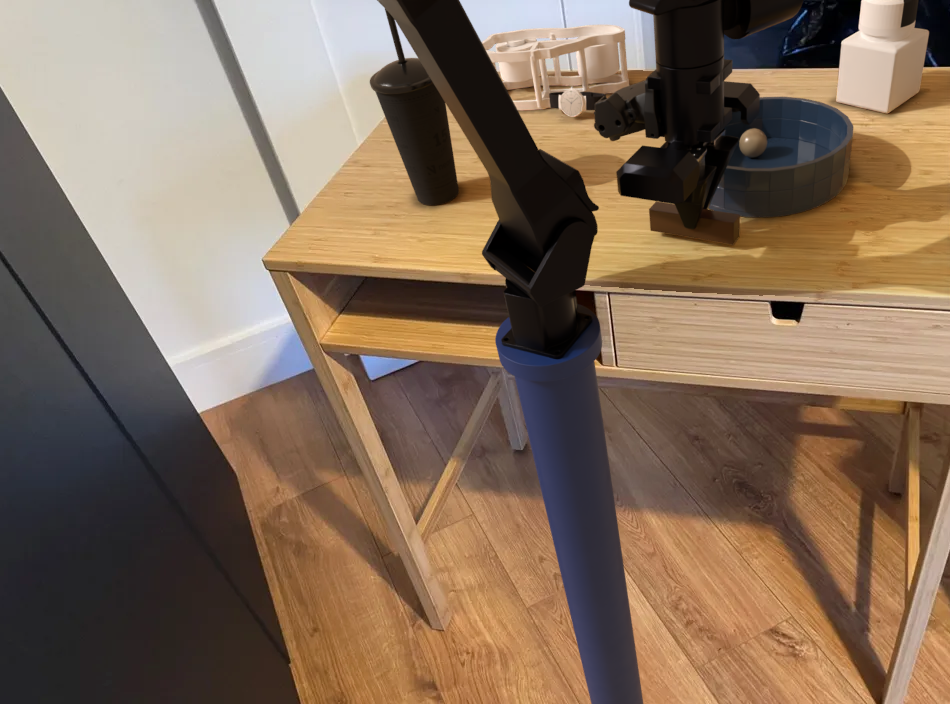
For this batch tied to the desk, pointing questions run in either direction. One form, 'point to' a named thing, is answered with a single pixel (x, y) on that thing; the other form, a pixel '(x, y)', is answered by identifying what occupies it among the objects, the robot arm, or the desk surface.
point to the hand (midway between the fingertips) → (694, 223)
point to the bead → (753, 143)
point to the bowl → (787, 159)
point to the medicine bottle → (882, 57)
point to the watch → (574, 101)
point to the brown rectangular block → (708, 227)
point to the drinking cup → (417, 125)
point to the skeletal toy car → (527, 60)
